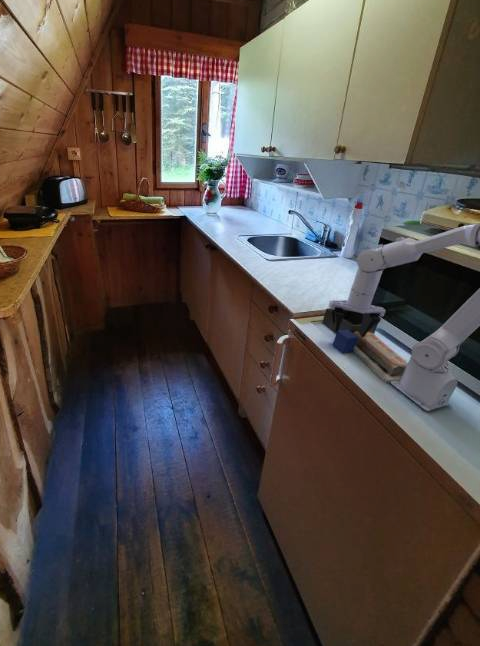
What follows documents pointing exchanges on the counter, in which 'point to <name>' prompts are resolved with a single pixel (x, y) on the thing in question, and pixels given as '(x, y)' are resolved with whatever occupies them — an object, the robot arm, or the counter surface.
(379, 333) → the counter surface
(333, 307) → the robot arm
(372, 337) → the packaged product
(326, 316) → the waste bin
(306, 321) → the counter surface
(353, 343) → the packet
